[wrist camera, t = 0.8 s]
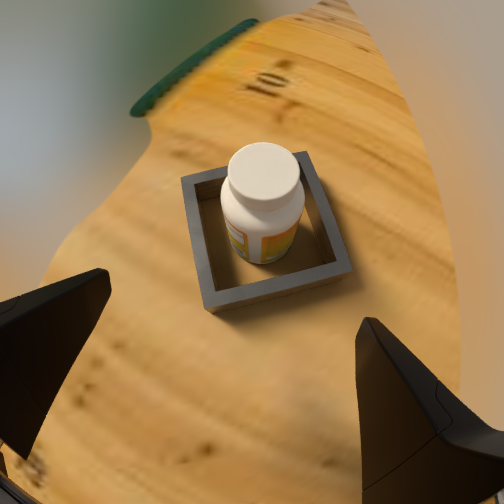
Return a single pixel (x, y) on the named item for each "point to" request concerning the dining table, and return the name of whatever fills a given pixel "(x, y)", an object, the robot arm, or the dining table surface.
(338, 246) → the collar
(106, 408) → the dining table surface
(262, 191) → the supplement bottle
